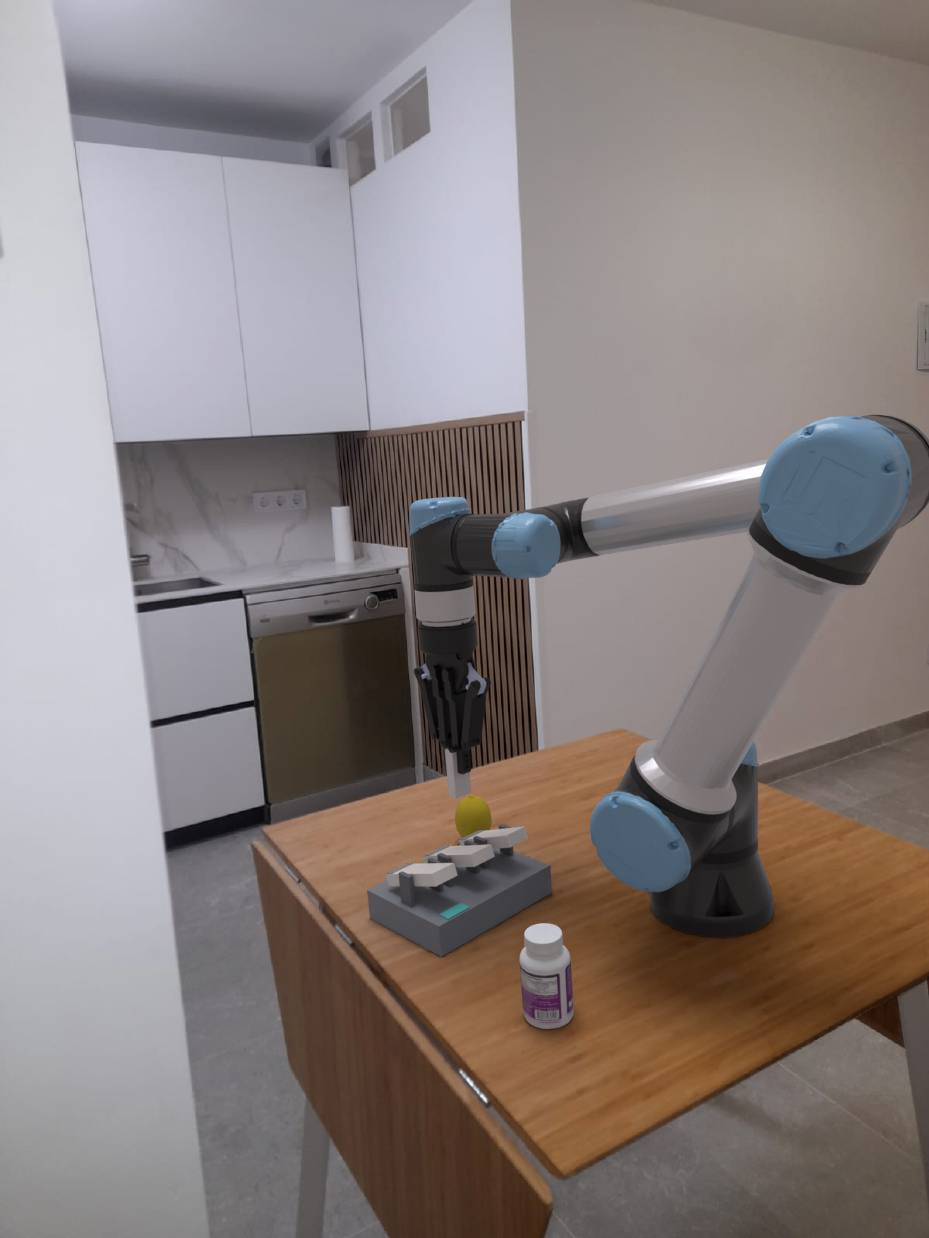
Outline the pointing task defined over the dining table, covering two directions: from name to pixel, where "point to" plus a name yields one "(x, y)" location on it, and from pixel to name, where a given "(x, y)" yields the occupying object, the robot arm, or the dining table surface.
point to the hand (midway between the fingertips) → (459, 793)
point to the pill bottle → (546, 977)
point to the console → (461, 899)
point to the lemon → (472, 815)
